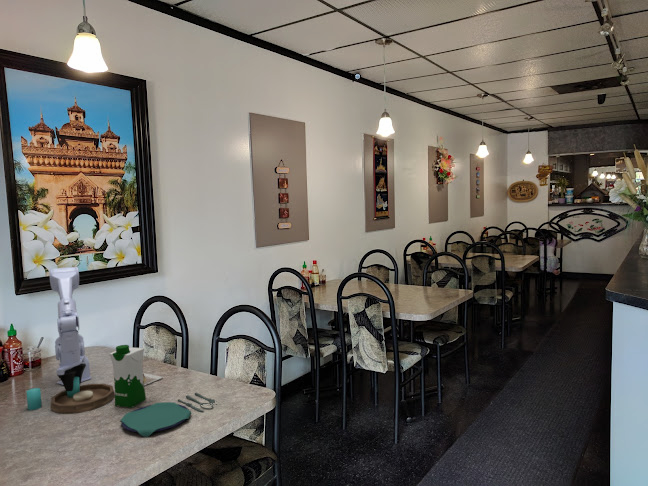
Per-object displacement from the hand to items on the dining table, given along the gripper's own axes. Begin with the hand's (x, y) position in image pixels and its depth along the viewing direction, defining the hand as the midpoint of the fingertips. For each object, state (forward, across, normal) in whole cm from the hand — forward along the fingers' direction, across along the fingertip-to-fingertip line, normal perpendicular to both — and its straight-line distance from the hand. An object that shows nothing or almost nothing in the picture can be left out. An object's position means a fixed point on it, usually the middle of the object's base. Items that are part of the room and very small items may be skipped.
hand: (73, 388), depth 166 cm
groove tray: (+4, +3, +5) cm, 7 cm away
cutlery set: (+4, +16, +40) cm, 43 cm away
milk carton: (+4, +5, +22) cm, 23 cm away
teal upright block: (+3, 0, 0) cm, 3 cm away
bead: (+4, +7, -9) cm, 12 cm away
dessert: (+4, -15, +17) cm, 23 cm away
